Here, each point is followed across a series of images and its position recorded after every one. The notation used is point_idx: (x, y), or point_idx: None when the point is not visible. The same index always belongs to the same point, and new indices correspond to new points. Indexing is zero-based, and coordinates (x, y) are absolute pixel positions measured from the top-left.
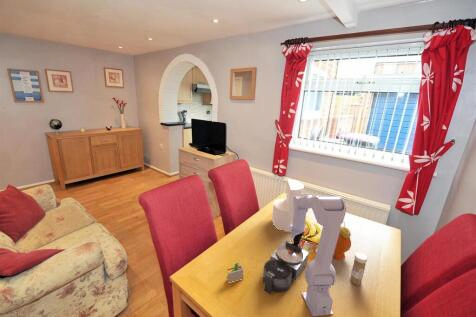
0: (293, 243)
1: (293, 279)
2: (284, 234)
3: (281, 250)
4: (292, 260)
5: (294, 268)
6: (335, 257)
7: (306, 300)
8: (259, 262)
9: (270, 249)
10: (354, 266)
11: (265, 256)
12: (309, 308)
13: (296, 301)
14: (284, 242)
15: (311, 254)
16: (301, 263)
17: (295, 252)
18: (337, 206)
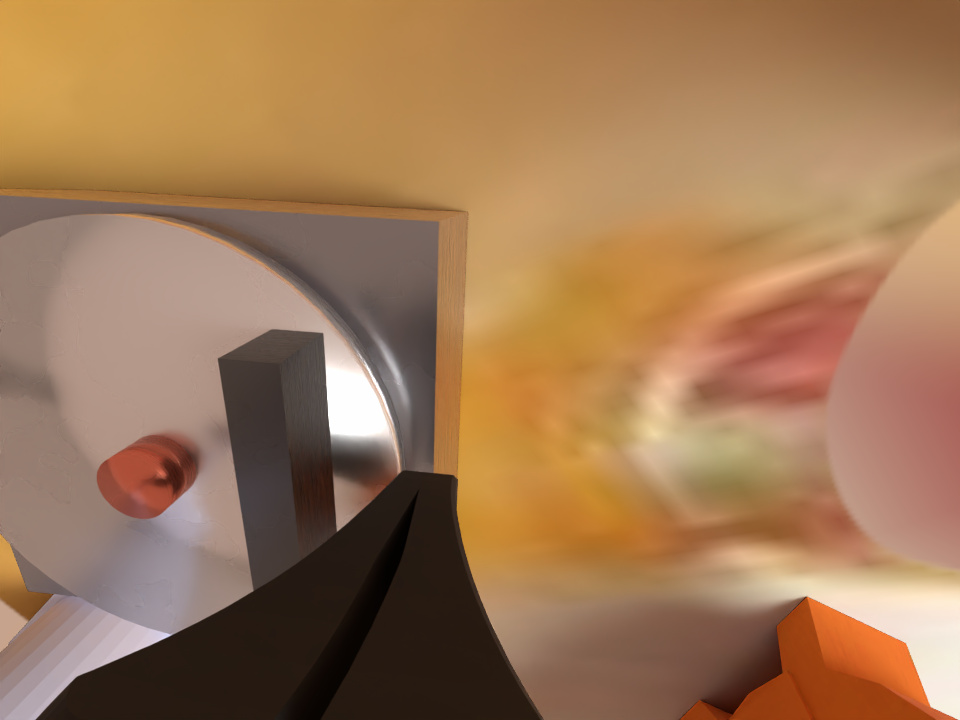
0: (293, 519)
1: None
2: (953, 23)
3: (71, 326)
4: (47, 544)
5: (21, 566)
6: (701, 715)
7: (59, 600)
8: (25, 24)
9: (370, 14)
10: None
11: (182, 33)
12: (27, 623)
13: None
14: (406, 249)
15: (626, 524)
16: None
17: (234, 534)
18: None
